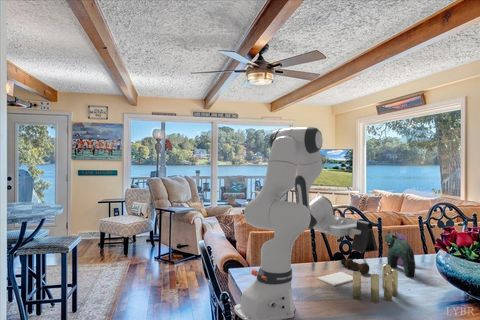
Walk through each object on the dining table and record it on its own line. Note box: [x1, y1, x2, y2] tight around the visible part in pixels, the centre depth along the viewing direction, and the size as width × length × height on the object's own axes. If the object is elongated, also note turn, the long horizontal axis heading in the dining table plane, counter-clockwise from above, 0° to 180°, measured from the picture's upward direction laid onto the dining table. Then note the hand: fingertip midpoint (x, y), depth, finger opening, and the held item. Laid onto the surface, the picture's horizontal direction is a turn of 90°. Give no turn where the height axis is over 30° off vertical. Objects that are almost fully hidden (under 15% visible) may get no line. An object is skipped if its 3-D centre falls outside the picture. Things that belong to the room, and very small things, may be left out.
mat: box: [316, 271, 353, 287], centre depth 145 cm, size 16×10×1 cm, turn 122°
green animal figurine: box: [384, 229, 416, 278], centre depth 157 cm, size 20×6×20 cm, turn 4°
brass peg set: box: [352, 263, 399, 304], centre depth 127 cm, size 22×10×10 cm, turn 122°
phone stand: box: [350, 219, 379, 254], centre depth 133 cm, size 9×6×12 cm, turn 114°
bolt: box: [340, 258, 370, 275], centre depth 159 cm, size 6×5×15 cm
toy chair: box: [396, 233, 408, 266], centre depth 170 cm, size 8×9×15 cm
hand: (364, 232), depth 133 cm, fingers closed on phone stand
